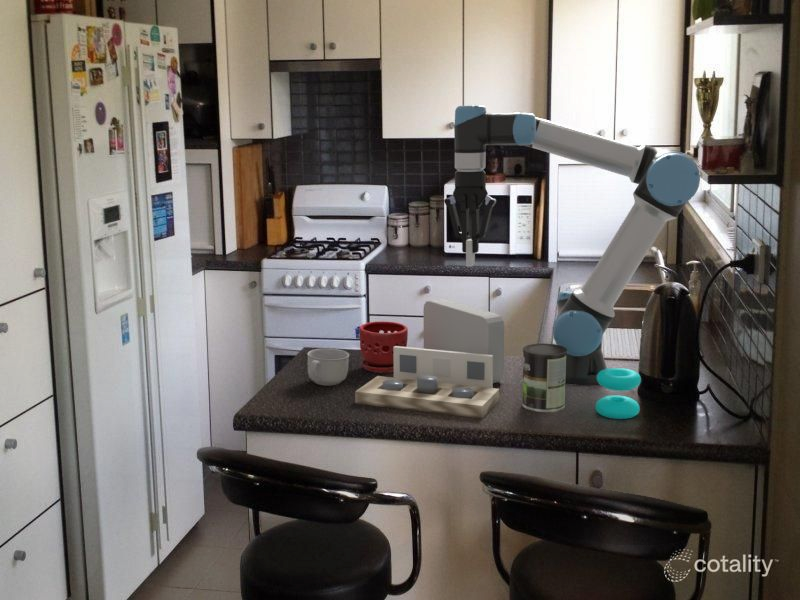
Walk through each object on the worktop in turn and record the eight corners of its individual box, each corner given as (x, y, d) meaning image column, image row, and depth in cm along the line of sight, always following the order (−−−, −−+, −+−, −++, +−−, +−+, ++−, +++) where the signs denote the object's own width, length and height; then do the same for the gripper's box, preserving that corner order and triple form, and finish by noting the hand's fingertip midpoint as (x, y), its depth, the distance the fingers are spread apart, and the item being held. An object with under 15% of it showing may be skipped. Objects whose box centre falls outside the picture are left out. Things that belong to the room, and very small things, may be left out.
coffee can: (524, 412, 226) (525, 354, 223) (520, 399, 236) (521, 343, 233) (568, 412, 226) (569, 354, 223) (562, 399, 236) (563, 343, 233)
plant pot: (354, 374, 258) (353, 330, 255) (367, 361, 270) (366, 319, 268) (401, 377, 255) (401, 333, 252) (412, 364, 267) (412, 322, 265)
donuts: (598, 365, 229) (642, 367, 226) (597, 405, 231) (640, 408, 228) (595, 376, 219) (640, 379, 217) (593, 418, 221) (638, 422, 219)
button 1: (406, 392, 239) (406, 380, 238) (398, 398, 234) (398, 386, 233) (387, 390, 240) (387, 378, 240) (379, 396, 236) (379, 384, 235)
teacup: (326, 374, 258) (325, 345, 257) (358, 380, 252) (357, 351, 250) (291, 387, 247) (290, 357, 245) (323, 394, 241) (323, 363, 239)
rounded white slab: (510, 382, 250) (511, 314, 246) (487, 387, 246) (488, 318, 242) (445, 358, 273) (445, 296, 269) (423, 362, 269) (423, 299, 265)
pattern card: (494, 391, 242) (495, 353, 240) (489, 397, 237) (489, 358, 235) (398, 381, 251) (397, 344, 249) (391, 386, 247) (390, 348, 245)
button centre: (440, 388, 235) (440, 376, 234) (433, 394, 230) (433, 382, 230) (421, 386, 237) (421, 374, 236) (414, 391, 232) (414, 379, 232)
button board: (499, 400, 235) (499, 388, 234) (482, 418, 222) (482, 405, 221) (377, 387, 246) (377, 375, 246) (355, 403, 234) (355, 391, 233)
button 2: (475, 400, 232) (476, 388, 231) (469, 406, 228) (469, 394, 227) (456, 398, 234) (456, 386, 233) (449, 404, 229) (449, 392, 229)
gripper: (500, 169, 236) (499, 264, 241) (448, 168, 240) (449, 262, 245) (492, 171, 229) (492, 269, 234) (439, 171, 234) (440, 267, 238)
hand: (470, 265), depth 240 cm, fingers closed
